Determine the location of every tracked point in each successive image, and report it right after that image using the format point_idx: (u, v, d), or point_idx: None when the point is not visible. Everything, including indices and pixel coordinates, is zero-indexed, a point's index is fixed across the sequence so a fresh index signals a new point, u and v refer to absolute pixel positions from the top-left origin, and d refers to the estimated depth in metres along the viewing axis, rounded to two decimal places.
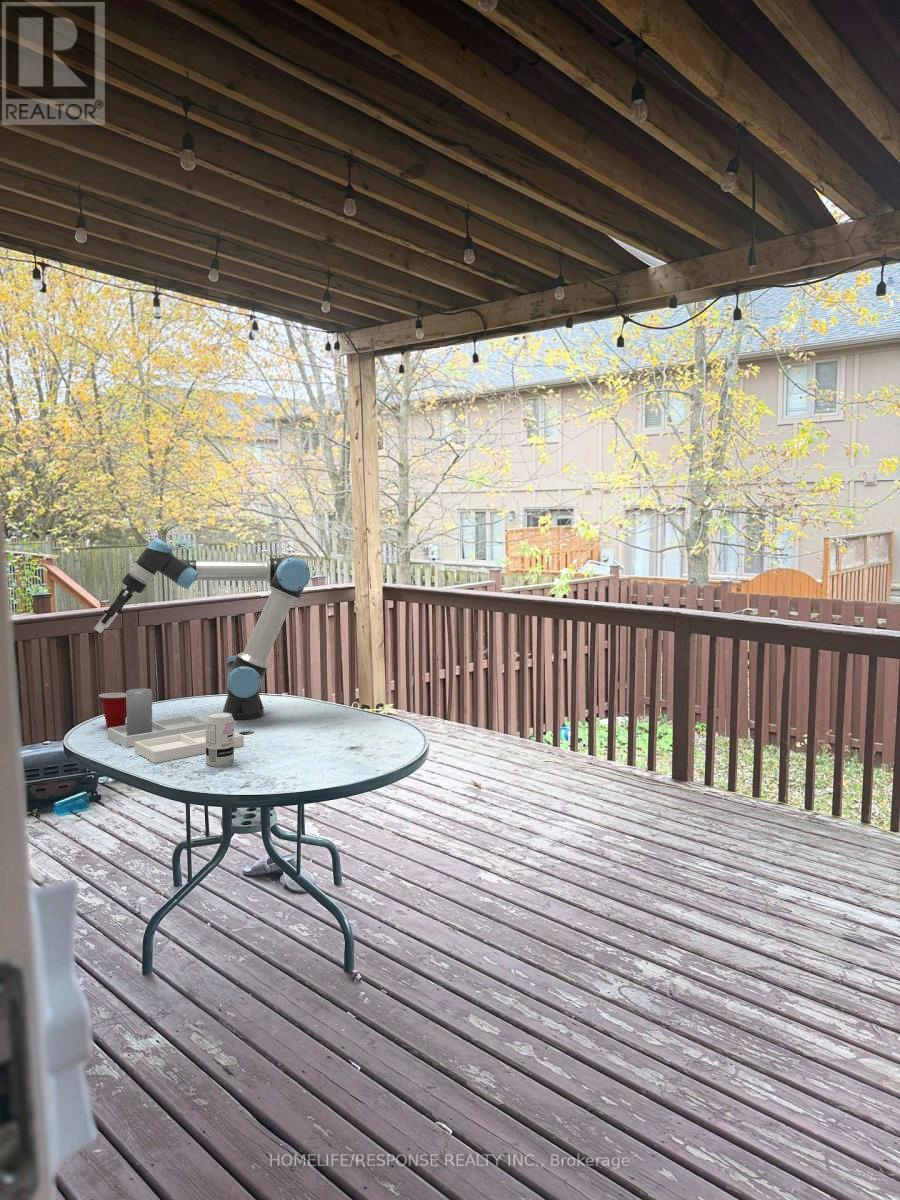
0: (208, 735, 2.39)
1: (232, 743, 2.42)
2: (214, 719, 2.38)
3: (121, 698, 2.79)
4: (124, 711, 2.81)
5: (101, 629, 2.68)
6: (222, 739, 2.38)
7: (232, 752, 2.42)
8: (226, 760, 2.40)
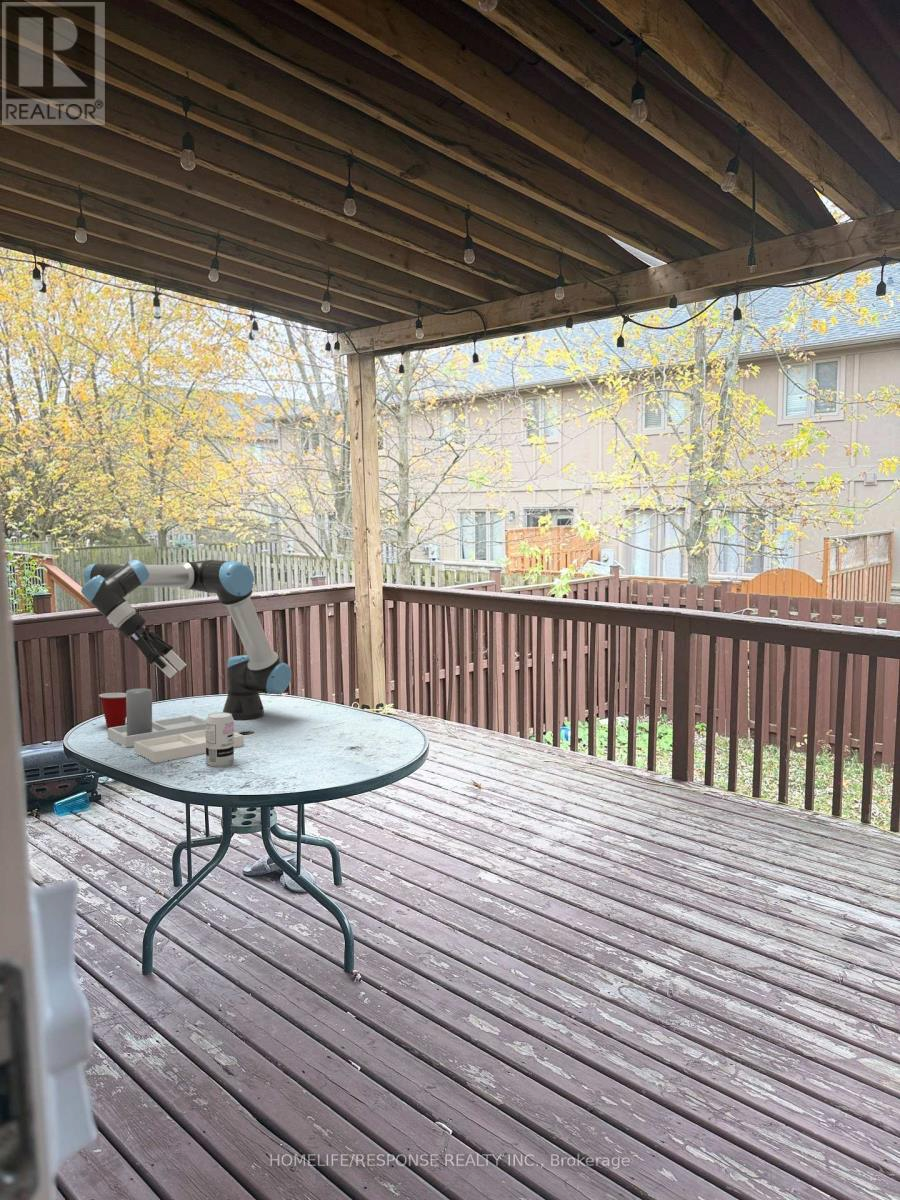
0: (208, 735, 2.39)
1: (232, 743, 2.42)
2: (214, 719, 2.38)
3: (121, 698, 2.79)
4: (124, 711, 2.81)
5: (172, 670, 2.32)
6: (222, 739, 2.38)
7: (232, 752, 2.42)
8: (226, 760, 2.40)
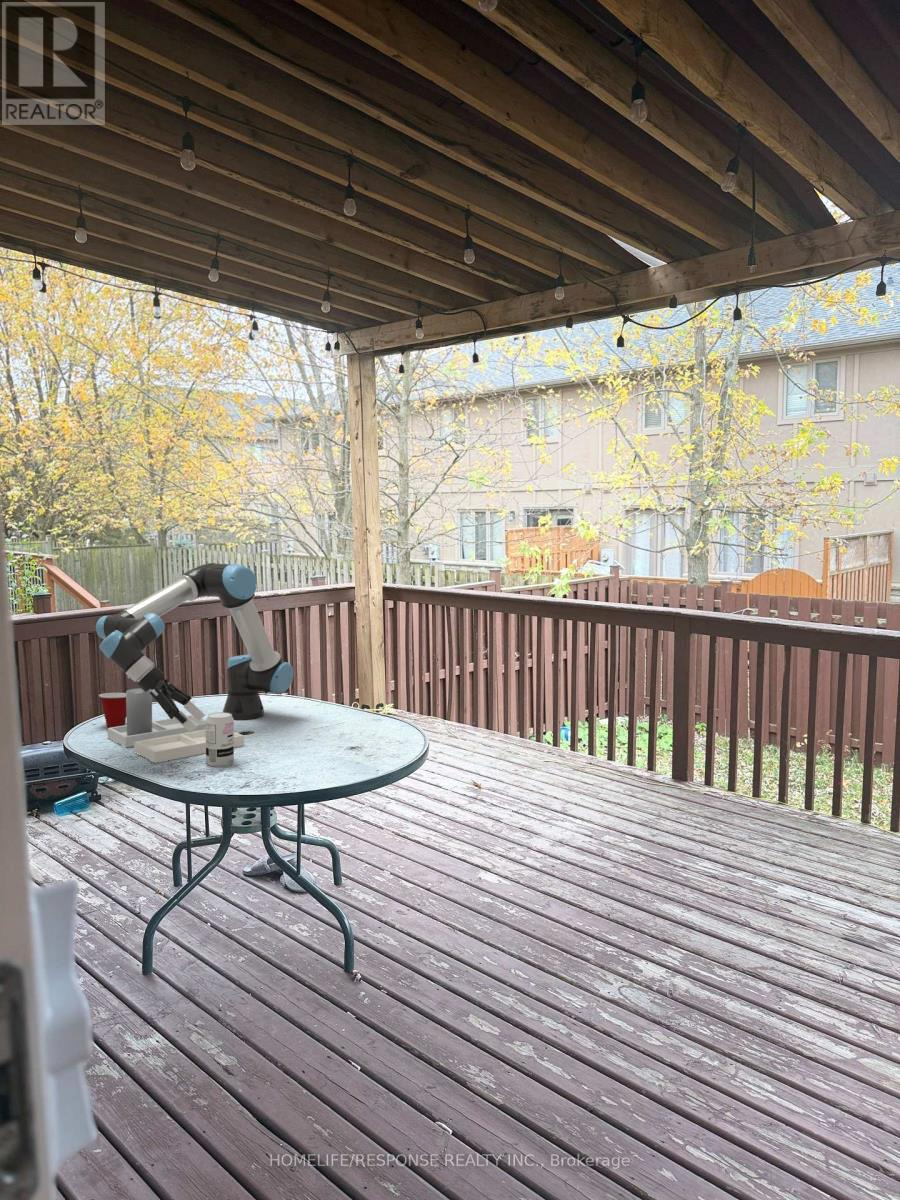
0: (208, 735, 2.39)
1: (232, 743, 2.42)
2: (214, 719, 2.38)
3: (121, 698, 2.79)
4: (124, 711, 2.81)
5: (192, 724, 2.33)
6: (222, 739, 2.38)
7: (232, 752, 2.42)
8: (226, 760, 2.40)
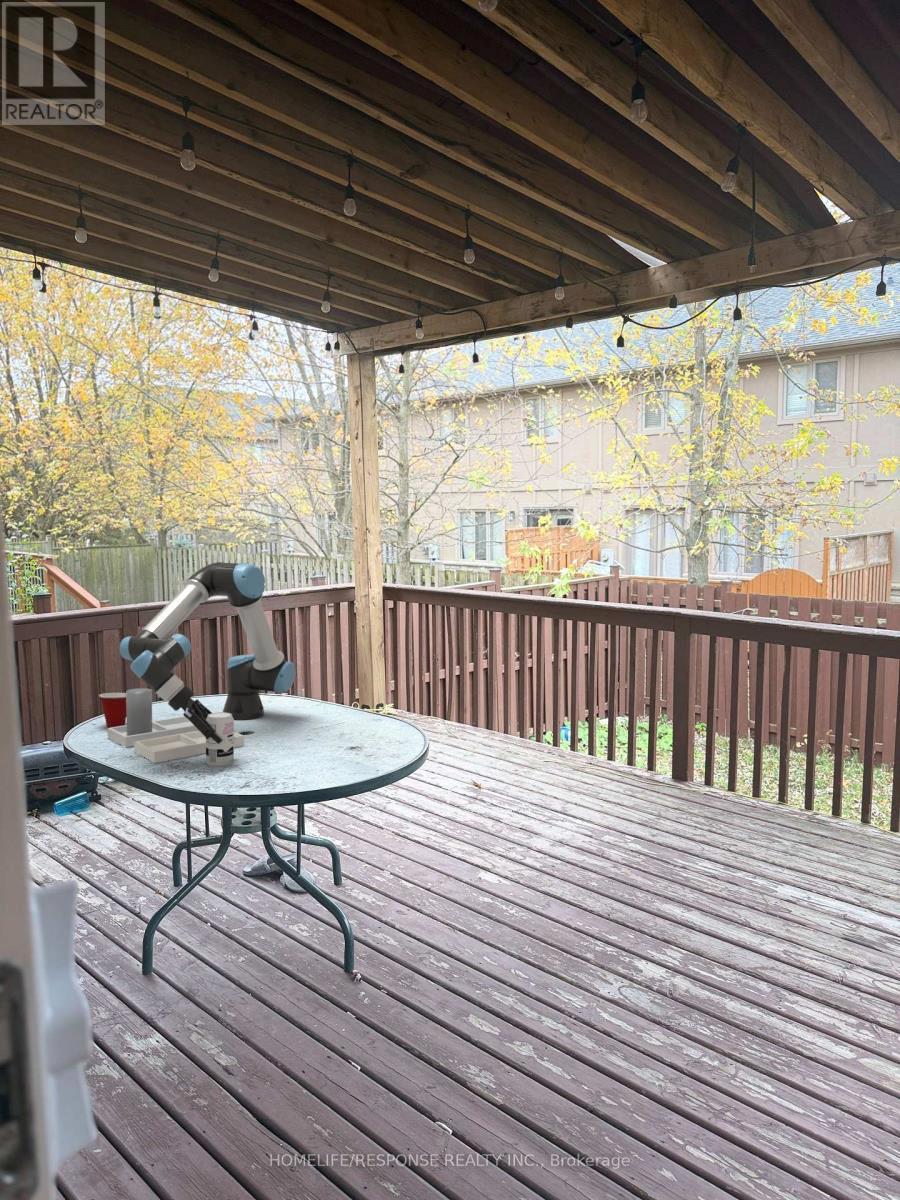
0: None
1: (232, 743, 2.42)
2: (214, 719, 2.38)
3: (121, 698, 2.79)
4: (124, 711, 2.81)
5: (228, 744, 2.38)
6: None
7: (232, 752, 2.42)
8: (226, 760, 2.40)
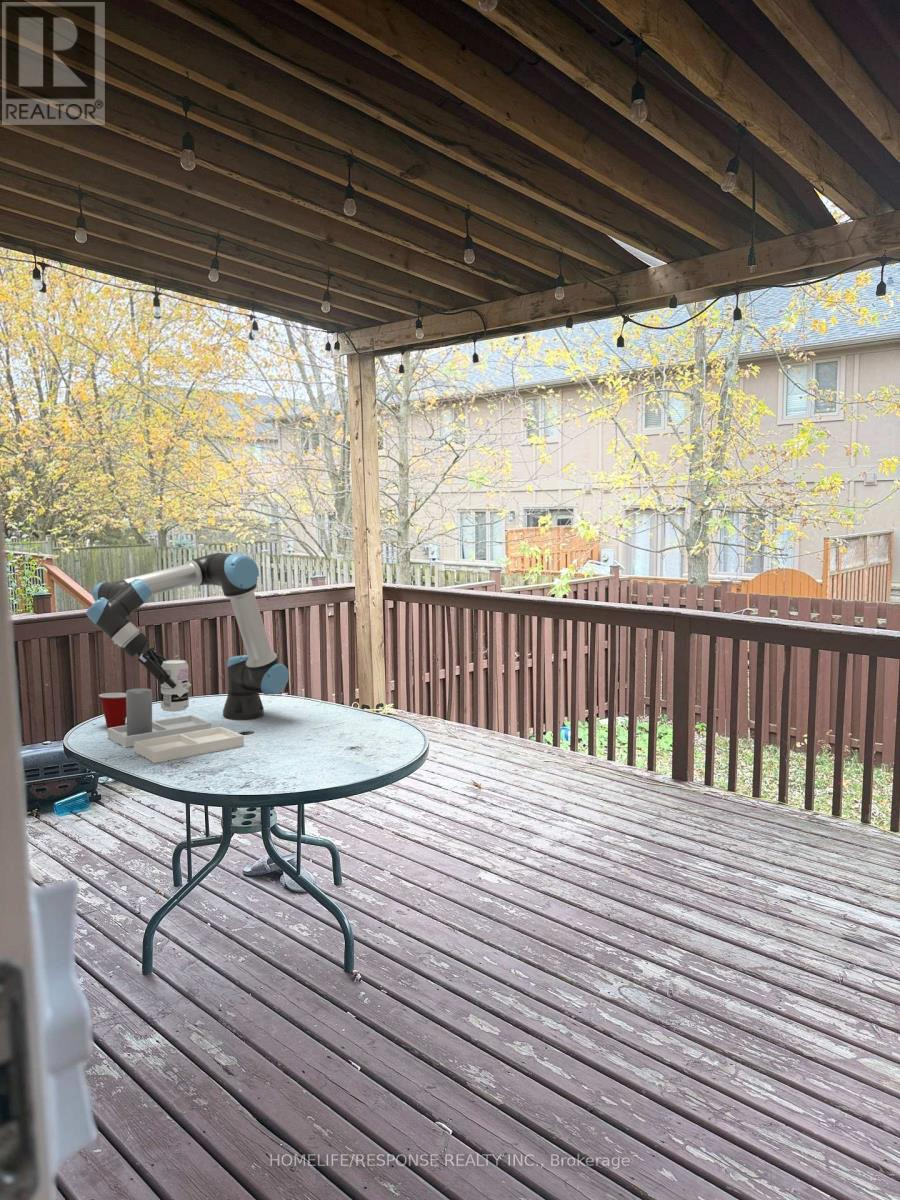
0: None
1: (186, 689, 2.48)
2: (168, 665, 2.44)
3: (121, 698, 2.79)
4: (124, 711, 2.81)
5: (182, 689, 2.44)
6: None
7: (186, 698, 2.48)
8: (181, 705, 2.46)
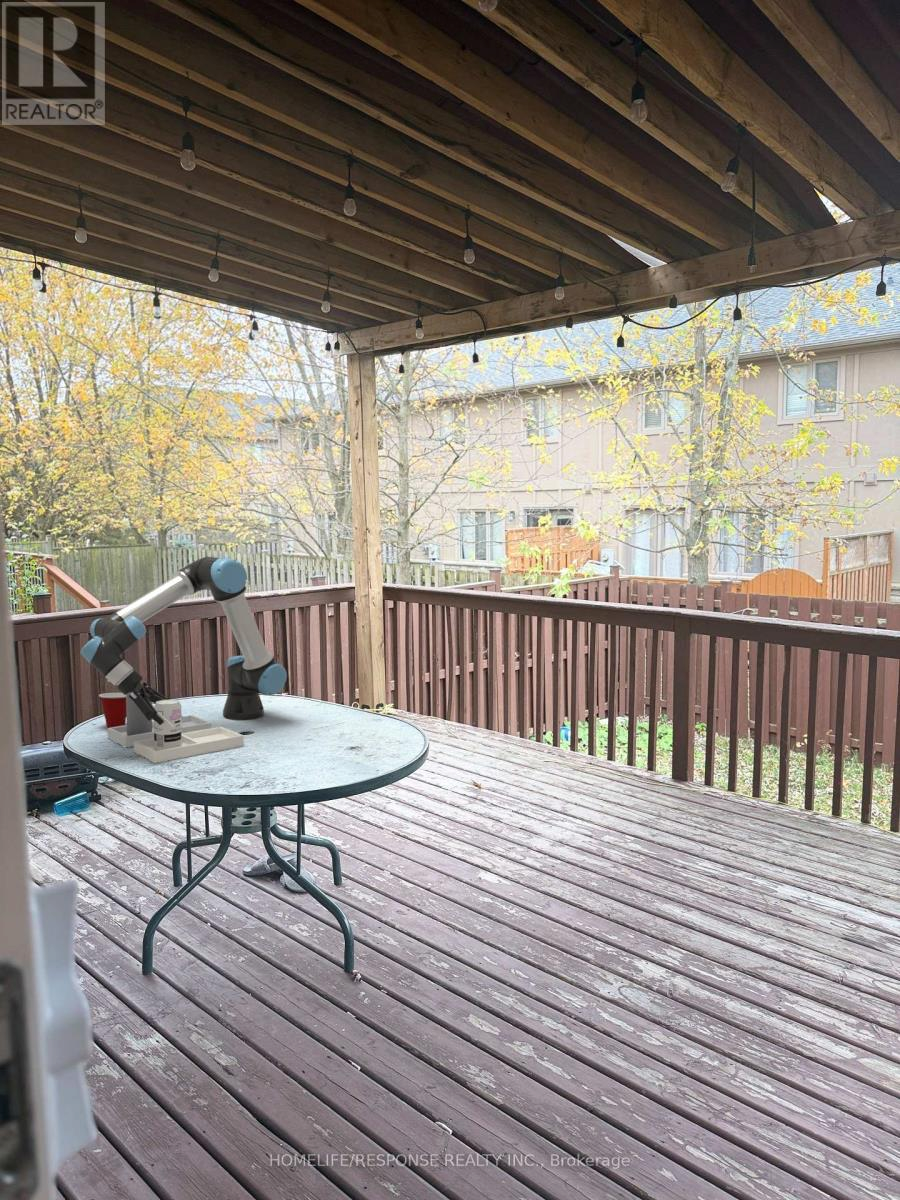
0: None
1: (179, 729, 2.51)
2: (161, 705, 2.47)
3: (121, 698, 2.79)
4: (124, 711, 2.81)
5: (169, 726, 2.44)
6: None
7: (179, 737, 2.51)
8: (173, 745, 2.49)
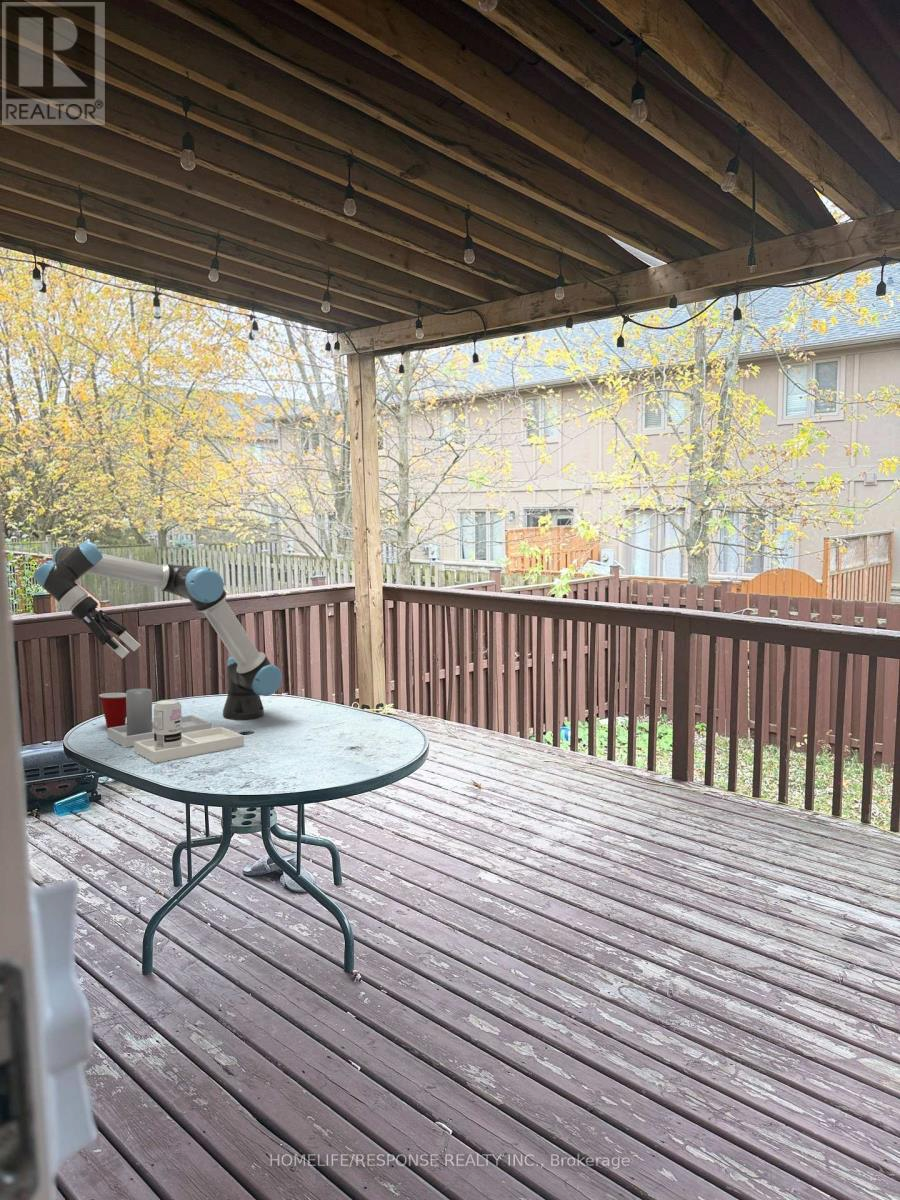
0: (156, 721, 2.48)
1: (179, 729, 2.51)
2: (161, 706, 2.47)
3: (121, 698, 2.79)
4: (124, 711, 2.81)
5: (124, 651, 2.41)
6: (169, 724, 2.48)
7: (179, 738, 2.51)
8: (173, 745, 2.49)
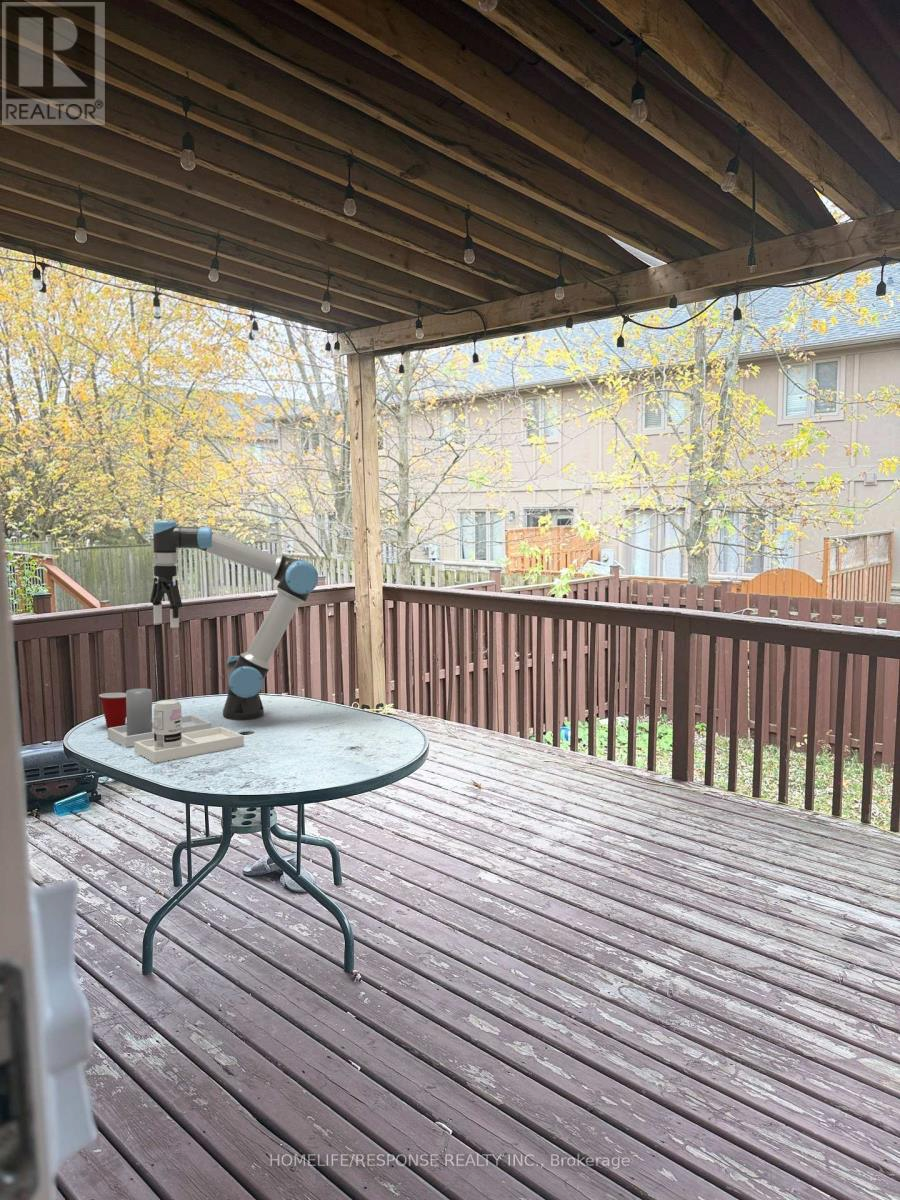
0: (156, 721, 2.48)
1: (179, 729, 2.51)
2: (161, 706, 2.47)
3: (121, 698, 2.79)
4: (124, 711, 2.81)
5: (177, 623, 2.75)
6: (169, 724, 2.48)
7: (179, 738, 2.51)
8: (173, 745, 2.49)
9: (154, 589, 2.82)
